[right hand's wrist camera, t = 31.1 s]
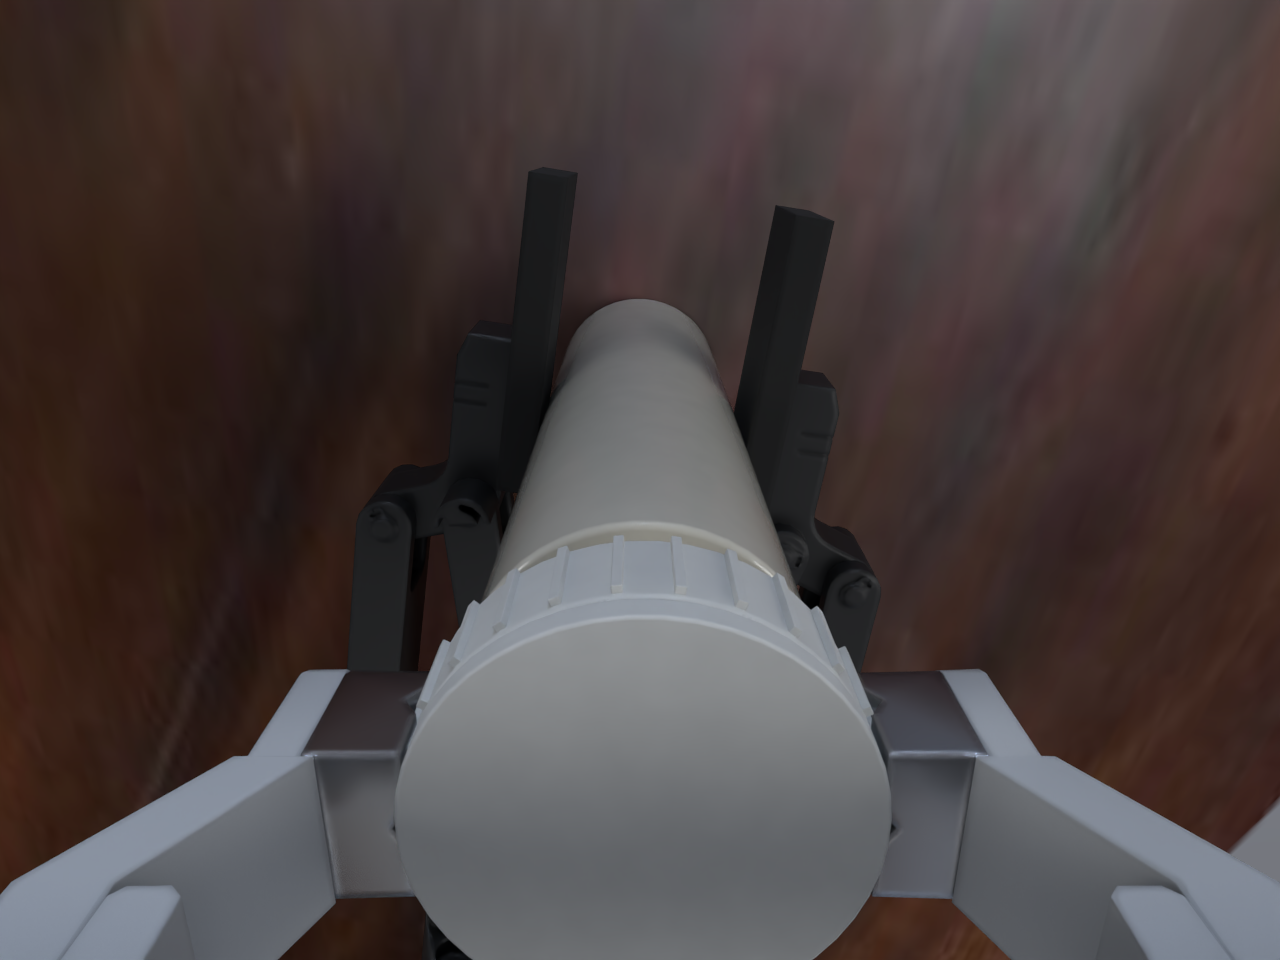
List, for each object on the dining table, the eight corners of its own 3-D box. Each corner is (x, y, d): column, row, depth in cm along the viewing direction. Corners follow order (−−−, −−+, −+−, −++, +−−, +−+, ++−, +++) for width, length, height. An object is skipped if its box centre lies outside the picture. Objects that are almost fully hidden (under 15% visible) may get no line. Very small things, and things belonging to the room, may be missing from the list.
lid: (711, 443, 9) (727, 505, 7) (935, 779, 10) (988, 891, 9) (332, 676, 10) (277, 775, 8) (588, 955, 11) (579, 1083, 10)
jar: (722, 304, 25) (878, 594, 9) (705, 451, 27) (813, 926, 10) (567, 292, 25) (439, 564, 9) (559, 440, 26) (437, 904, 10)
